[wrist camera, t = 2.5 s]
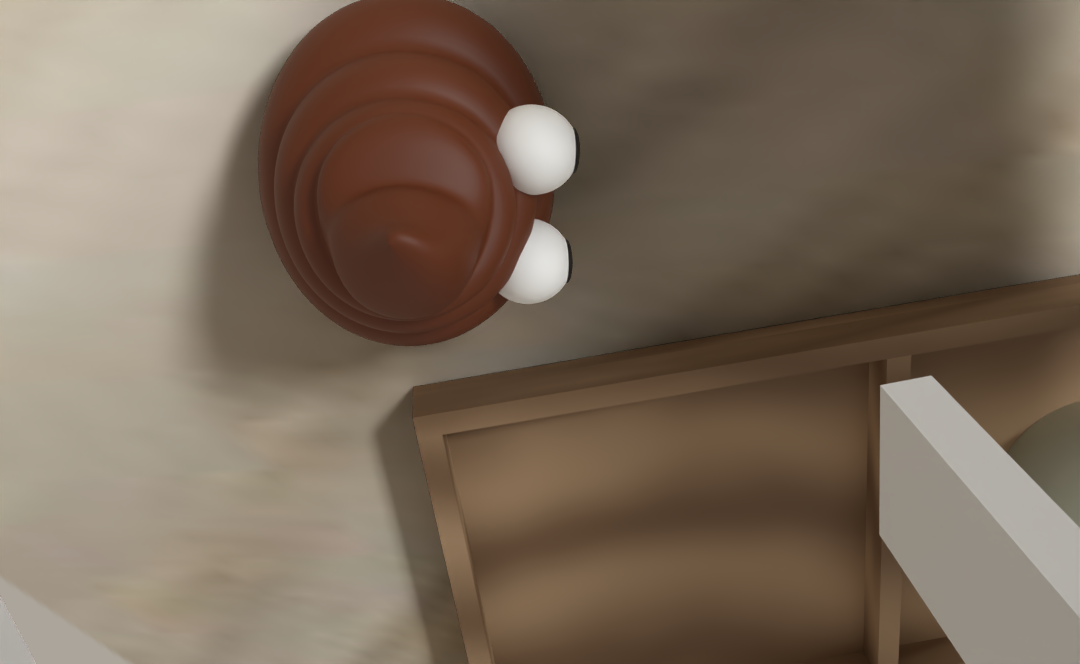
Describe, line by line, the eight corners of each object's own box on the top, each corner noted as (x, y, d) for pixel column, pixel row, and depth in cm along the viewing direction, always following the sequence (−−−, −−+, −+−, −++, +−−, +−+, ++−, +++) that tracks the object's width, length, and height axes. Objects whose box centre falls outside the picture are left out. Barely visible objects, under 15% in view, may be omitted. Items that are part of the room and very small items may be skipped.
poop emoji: (256, -18, 26) (175, 40, 18) (566, -7, 27) (626, 53, 19) (282, 315, 31) (226, 485, 22) (549, 315, 32) (591, 478, 23)
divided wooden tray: (413, 386, 32) (412, 418, 30) (1322, 233, 33) (1373, 254, 31) (488, 721, 39) (491, 762, 38) (1236, 587, 40) (1273, 621, 38)
